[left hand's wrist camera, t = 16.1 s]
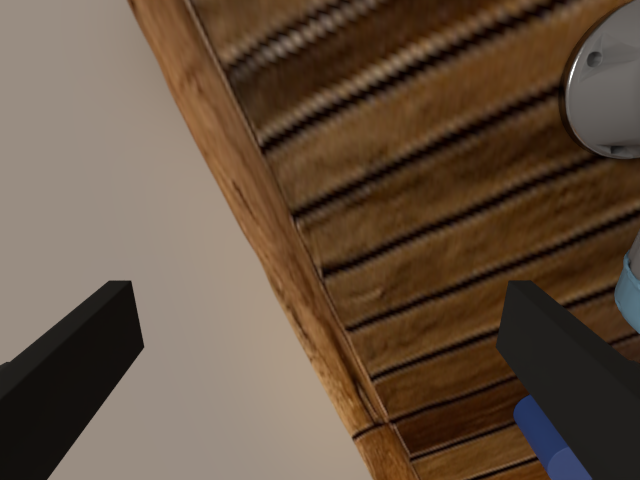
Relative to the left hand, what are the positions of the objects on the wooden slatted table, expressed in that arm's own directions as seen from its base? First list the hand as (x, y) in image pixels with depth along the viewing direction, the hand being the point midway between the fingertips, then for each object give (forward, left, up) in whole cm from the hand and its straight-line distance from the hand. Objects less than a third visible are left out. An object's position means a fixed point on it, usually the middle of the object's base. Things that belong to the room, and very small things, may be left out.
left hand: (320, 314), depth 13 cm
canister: (-11, +45, -30) cm, 56 cm away
